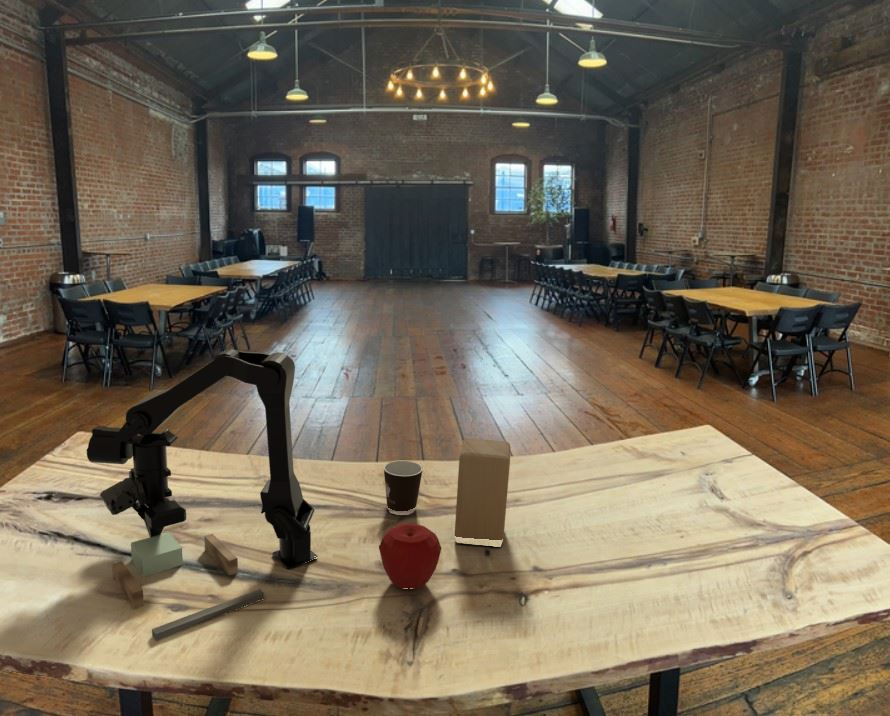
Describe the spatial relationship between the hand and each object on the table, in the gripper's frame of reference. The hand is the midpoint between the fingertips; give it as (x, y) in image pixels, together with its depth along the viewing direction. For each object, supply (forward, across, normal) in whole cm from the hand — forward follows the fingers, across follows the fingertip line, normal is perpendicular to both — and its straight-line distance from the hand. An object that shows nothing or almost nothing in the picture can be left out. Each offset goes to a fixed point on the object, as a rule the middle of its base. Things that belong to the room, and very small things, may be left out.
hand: (154, 540), depth 129 cm
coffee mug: (+2, +13, +50) cm, 52 cm away
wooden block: (+2, +33, +55) cm, 64 cm away
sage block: (+2, +5, -1) cm, 5 cm away
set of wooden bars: (+2, +16, 0) cm, 16 cm away
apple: (+2, +38, +32) cm, 50 cm away
